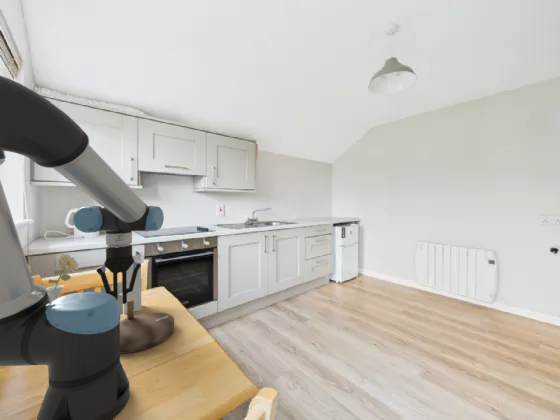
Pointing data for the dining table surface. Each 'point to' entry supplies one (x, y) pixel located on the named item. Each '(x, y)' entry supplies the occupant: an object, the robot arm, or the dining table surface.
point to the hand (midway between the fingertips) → (120, 313)
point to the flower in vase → (69, 267)
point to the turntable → (144, 329)
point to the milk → (136, 291)
